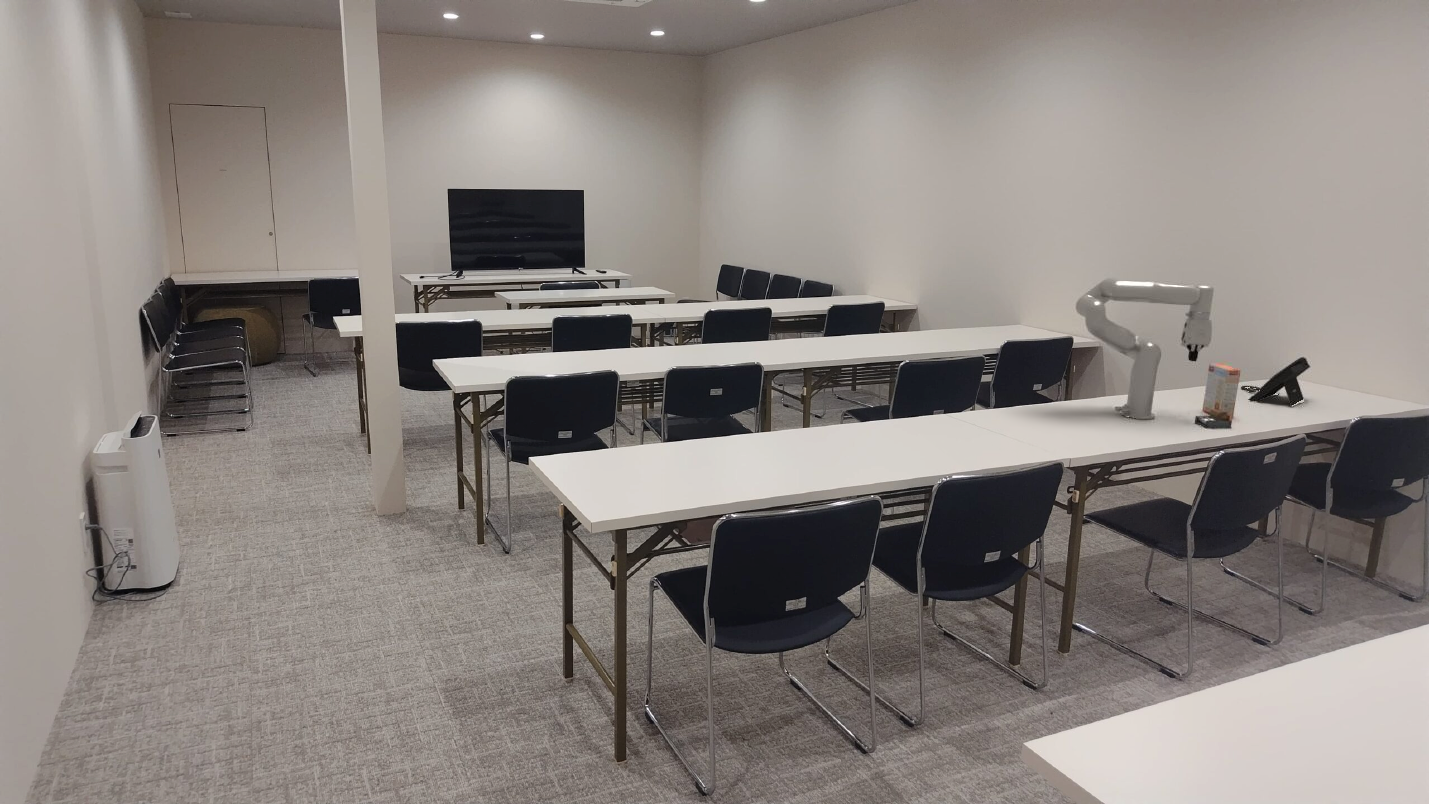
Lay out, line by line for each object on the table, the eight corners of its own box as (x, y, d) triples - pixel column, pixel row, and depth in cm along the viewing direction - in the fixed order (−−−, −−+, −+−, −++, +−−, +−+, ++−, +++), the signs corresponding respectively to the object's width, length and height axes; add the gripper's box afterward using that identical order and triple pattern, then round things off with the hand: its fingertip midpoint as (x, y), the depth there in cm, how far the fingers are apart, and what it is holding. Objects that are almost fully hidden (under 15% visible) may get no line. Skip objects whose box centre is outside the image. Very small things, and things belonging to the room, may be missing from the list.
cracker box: (1233, 419, 367) (1241, 369, 362) (1218, 419, 367) (1226, 369, 362) (1215, 411, 380) (1223, 362, 375) (1201, 410, 380) (1208, 362, 375)
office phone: (1244, 387, 427) (1250, 346, 422) (1312, 398, 406) (1319, 355, 401) (1220, 396, 408) (1226, 353, 403) (1289, 408, 387) (1297, 363, 383)
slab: (1216, 419, 354) (1218, 412, 353) (1209, 416, 358) (1210, 409, 357) (1226, 419, 354) (1227, 412, 353) (1218, 416, 359) (1220, 409, 358)
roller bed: (1207, 428, 352) (1208, 416, 351) (1194, 423, 360) (1196, 411, 359) (1230, 428, 353) (1232, 415, 352) (1217, 422, 361) (1219, 410, 360)
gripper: (1185, 316, 355) (1178, 362, 360) (1222, 317, 355) (1215, 362, 360) (1175, 314, 362) (1169, 358, 367) (1212, 314, 363) (1205, 359, 367)
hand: (1192, 360), depth 363 cm, fingers closed
